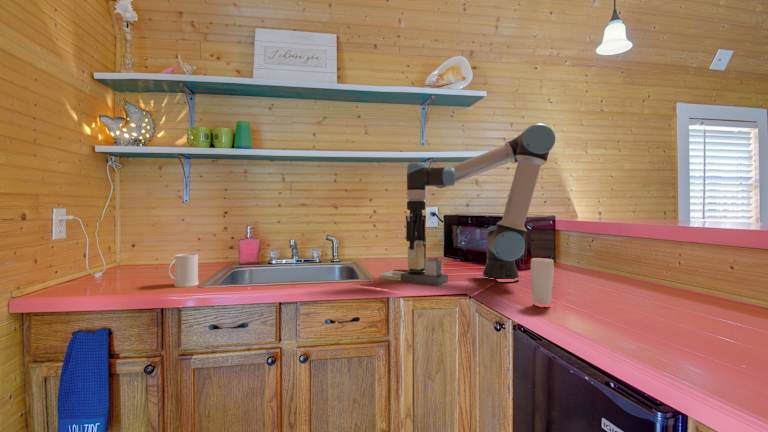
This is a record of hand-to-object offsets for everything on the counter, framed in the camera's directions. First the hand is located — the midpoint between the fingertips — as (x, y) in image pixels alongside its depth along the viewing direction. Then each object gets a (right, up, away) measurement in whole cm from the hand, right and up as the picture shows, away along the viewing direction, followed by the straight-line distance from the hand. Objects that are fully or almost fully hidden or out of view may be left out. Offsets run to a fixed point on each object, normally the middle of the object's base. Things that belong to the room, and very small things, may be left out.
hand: (416, 256), depth 153 cm
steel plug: (+6, -10, -4) cm, 13 cm away
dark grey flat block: (+3, -11, -2) cm, 11 cm away
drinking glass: (+37, -12, -35) cm, 53 cm away
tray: (-9, -11, +7) cm, 15 cm away
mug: (-92, -11, -8) cm, 93 cm away
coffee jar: (+3, -10, +24) cm, 27 cm away
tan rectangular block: (0, -5, 0) cm, 5 cm away
